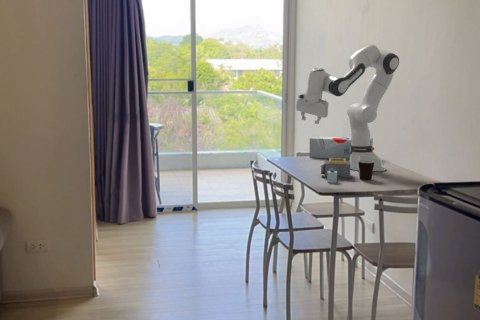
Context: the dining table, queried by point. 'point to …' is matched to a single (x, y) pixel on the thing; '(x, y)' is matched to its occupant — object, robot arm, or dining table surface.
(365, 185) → the dining table surface
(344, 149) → the soda pack
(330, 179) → the light blue block
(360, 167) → the coffee mug
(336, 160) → the dark grey toaster
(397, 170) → the dining table surface
